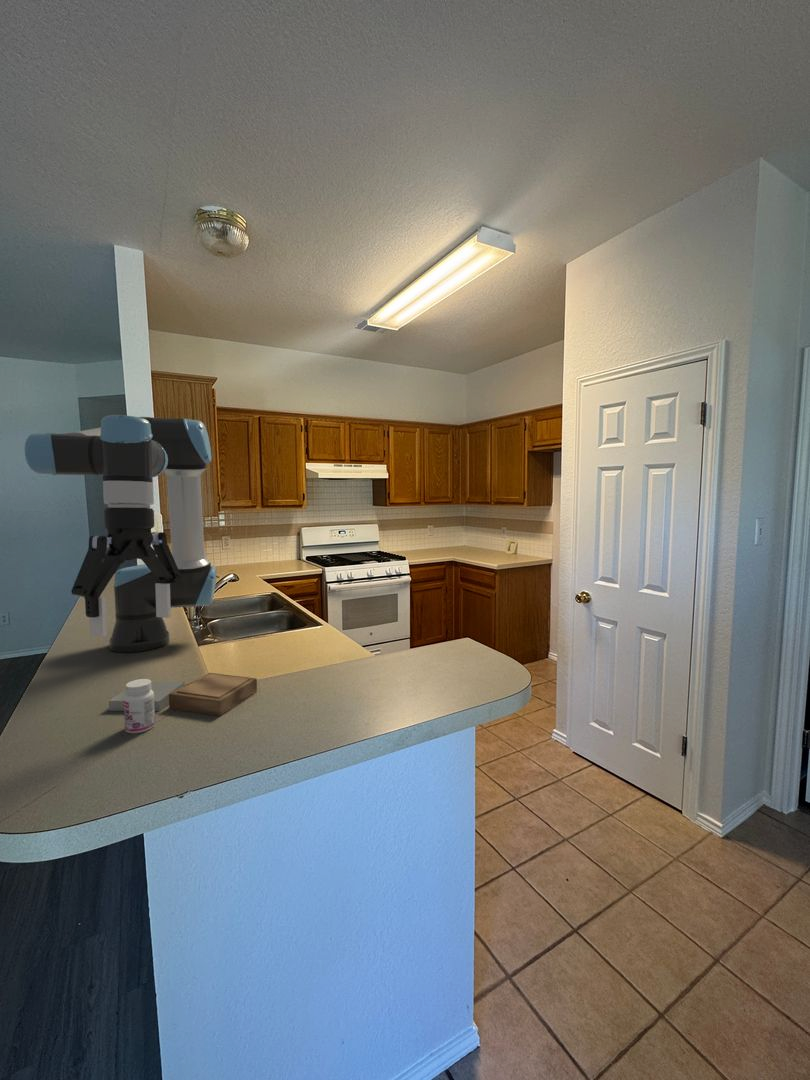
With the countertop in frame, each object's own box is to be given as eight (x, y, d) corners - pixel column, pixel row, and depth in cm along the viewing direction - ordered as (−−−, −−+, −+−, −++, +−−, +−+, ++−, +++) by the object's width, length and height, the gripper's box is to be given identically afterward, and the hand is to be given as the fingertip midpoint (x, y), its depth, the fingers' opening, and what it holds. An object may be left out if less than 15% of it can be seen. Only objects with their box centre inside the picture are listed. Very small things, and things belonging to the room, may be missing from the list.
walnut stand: (210, 685, 102) (209, 671, 102) (256, 691, 99) (256, 677, 99) (169, 708, 91) (168, 692, 90) (220, 716, 87) (220, 699, 87)
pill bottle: (118, 733, 81) (116, 687, 80) (137, 720, 85) (136, 677, 85) (142, 735, 80) (141, 688, 79) (160, 722, 85) (159, 678, 84)
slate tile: (139, 690, 99) (138, 681, 99) (184, 690, 99) (184, 681, 99) (109, 710, 89) (108, 700, 89) (159, 711, 89) (159, 701, 89)
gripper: (167, 506, 93) (170, 609, 94) (39, 505, 69) (46, 643, 70) (197, 507, 91) (200, 611, 92) (77, 506, 67) (83, 647, 68)
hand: (133, 625), depth 81 cm, fingers open, 13 cm apart
